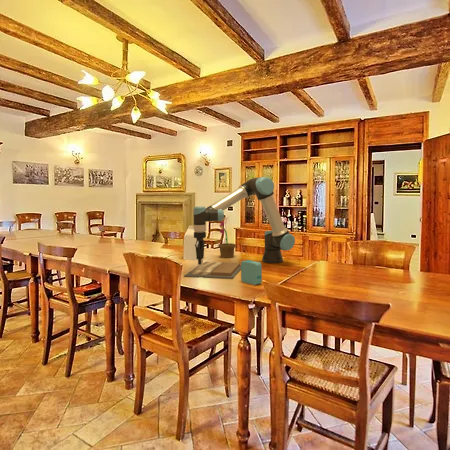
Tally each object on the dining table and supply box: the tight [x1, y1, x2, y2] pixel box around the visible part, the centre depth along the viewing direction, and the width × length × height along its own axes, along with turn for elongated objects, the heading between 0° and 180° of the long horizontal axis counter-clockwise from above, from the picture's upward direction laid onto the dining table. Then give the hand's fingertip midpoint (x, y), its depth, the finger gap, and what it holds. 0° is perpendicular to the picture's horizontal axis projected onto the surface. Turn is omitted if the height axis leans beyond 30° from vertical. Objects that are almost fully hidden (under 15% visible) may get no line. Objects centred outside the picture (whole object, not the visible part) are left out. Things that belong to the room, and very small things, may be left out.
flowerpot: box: [217, 220, 237, 259], centre depth 266 cm, size 14×14×30 cm
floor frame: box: [184, 262, 241, 280], centre depth 216 cm, size 30×35×3 cm
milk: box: [183, 225, 198, 261], centre depth 261 cm, size 12×12×26 cm
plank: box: [192, 261, 223, 275], centre depth 217 cm, size 12×30×2 cm, turn 167°
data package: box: [240, 259, 263, 286], centre depth 186 cm, size 12×4×12 cm, turn 41°
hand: (200, 269), depth 208 cm, fingers closed
